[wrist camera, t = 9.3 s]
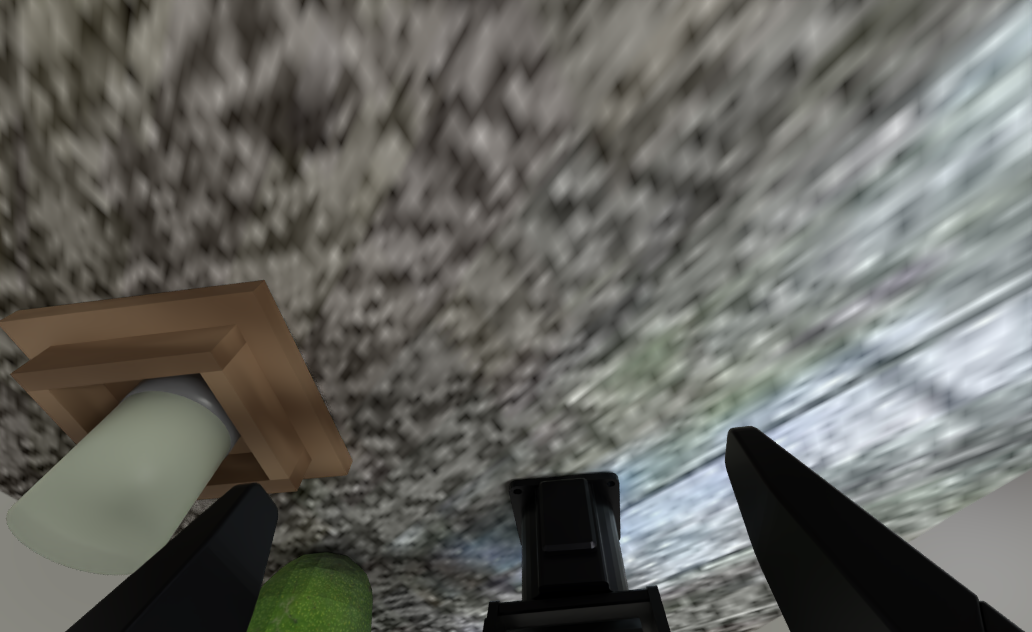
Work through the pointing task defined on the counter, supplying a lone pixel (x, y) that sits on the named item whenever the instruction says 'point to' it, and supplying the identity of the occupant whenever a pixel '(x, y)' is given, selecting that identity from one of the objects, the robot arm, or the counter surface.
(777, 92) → the counter surface
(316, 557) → the avocado
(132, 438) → the white rounded cylinder
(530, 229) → the counter surface
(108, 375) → the holder
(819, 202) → the counter surface
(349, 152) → the counter surface
